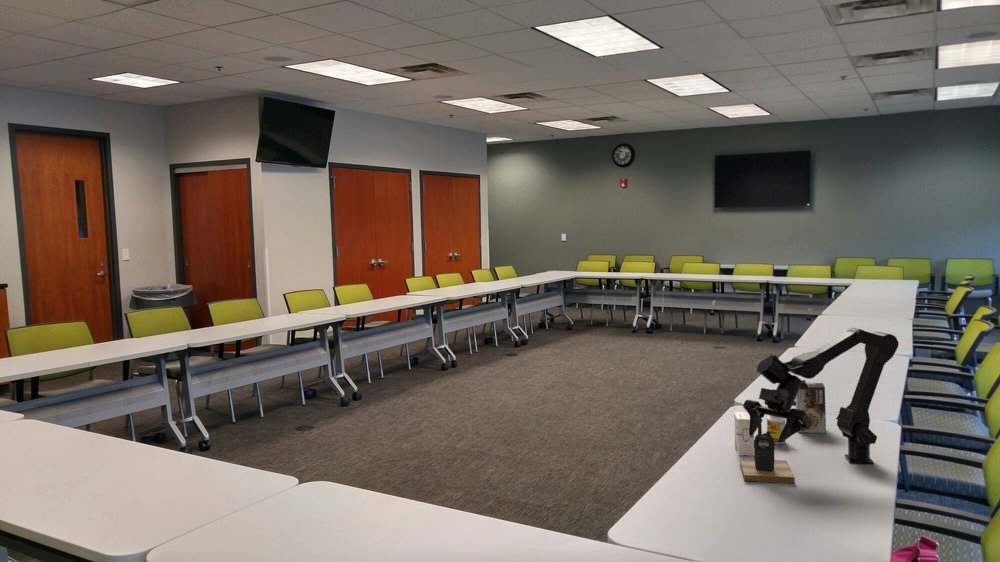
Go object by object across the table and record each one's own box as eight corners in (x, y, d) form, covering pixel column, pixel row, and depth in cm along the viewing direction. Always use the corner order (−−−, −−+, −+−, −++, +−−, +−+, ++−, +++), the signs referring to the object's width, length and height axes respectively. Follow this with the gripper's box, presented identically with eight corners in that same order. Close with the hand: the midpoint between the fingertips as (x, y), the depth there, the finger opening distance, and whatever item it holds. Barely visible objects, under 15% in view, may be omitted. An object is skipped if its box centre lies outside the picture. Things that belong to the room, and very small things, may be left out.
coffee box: (823, 428, 233) (823, 382, 232) (826, 433, 227) (825, 386, 226) (795, 427, 236) (794, 381, 235) (796, 432, 230) (796, 386, 229)
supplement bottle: (763, 441, 222) (763, 410, 221) (776, 438, 224) (775, 408, 223) (776, 445, 216) (776, 414, 216) (789, 443, 219) (789, 412, 218)
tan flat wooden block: (739, 465, 200) (739, 458, 200) (786, 467, 197) (786, 460, 197) (744, 482, 187) (744, 474, 187) (794, 484, 184) (794, 477, 183)
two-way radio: (753, 470, 190) (752, 418, 189) (755, 465, 194) (754, 414, 193) (774, 472, 188) (773, 420, 186) (775, 467, 192) (775, 415, 190)
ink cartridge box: (734, 447, 217) (733, 402, 216) (750, 447, 216) (749, 402, 215) (738, 455, 209) (737, 409, 208) (754, 456, 208) (754, 409, 207)
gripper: (745, 372, 200) (723, 416, 194) (805, 382, 184) (783, 429, 179) (761, 394, 205) (740, 437, 199) (821, 405, 189) (800, 452, 184)
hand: (764, 438), depth 190 cm, fingers open, 9 cm apart
